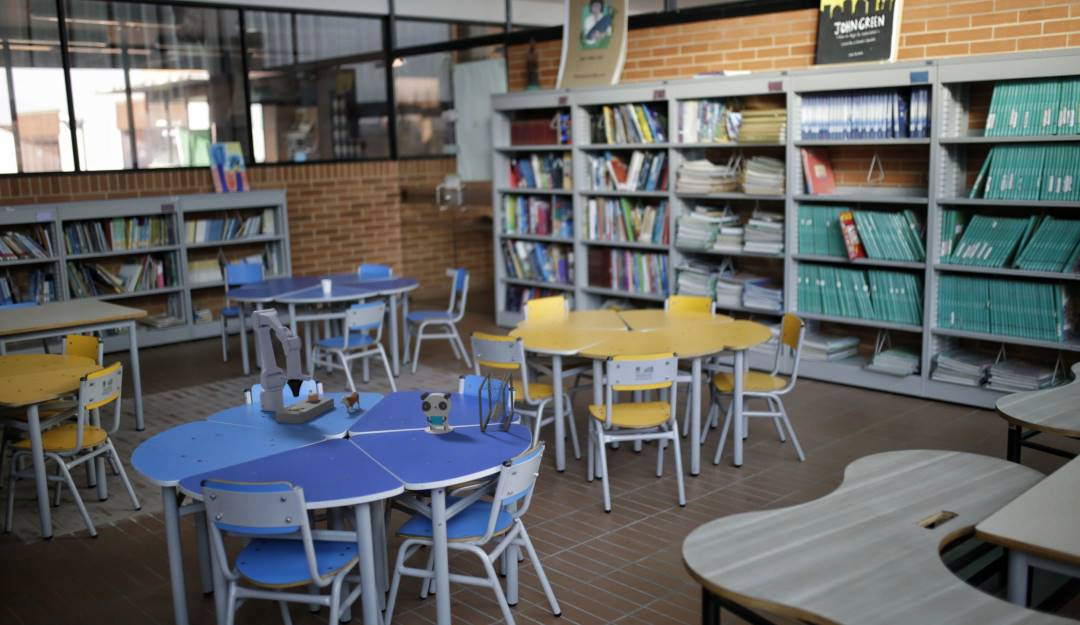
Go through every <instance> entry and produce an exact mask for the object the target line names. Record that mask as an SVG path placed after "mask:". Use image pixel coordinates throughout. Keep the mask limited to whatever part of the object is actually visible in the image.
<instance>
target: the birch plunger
mask: <svg viewBox="0 0 1080 625" xmlns="http://www.w3.org/2000/svg"><path fill="white" fill-rule="evenodd" d="M300 410H302V407H294V408H291V411H300Z"/></svg>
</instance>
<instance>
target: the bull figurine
mask: <svg viewBox="0 0 1080 625" xmlns="http://www.w3.org/2000/svg"><path fill="white" fill-rule="evenodd" d="M339 402H340V404H344V405H345V407H346V409H347V410H346V413H350V414H353V413H354V411H353V409H354V406H355V404H357V409H360V395H359V393H358V392H356V391H354V392H352V393H351V394H349V395H342V397H341V399H340V401H339Z"/></svg>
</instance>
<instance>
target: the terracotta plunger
mask: <svg viewBox="0 0 1080 625" xmlns="http://www.w3.org/2000/svg"><path fill="white" fill-rule="evenodd" d="M319 397H320V396H319V393H315V392H311V393H308V394H307V398H308V403H317V402H319Z"/></svg>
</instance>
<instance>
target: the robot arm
mask: <svg viewBox="0 0 1080 625" xmlns="http://www.w3.org/2000/svg"><path fill="white" fill-rule="evenodd" d="M250 316H251V318H250V319H251V323H252V328H253V330H254V332H256V333H257V338H258V342H259V347H260V351H261V355H262V360H263V364H264V369H263V370H262V371H261V373H260V374H259V377H260V381H259V382H260V386H261V389H262V390H260V394H259V399H260V409H259V410H260V411H261V412H262V411H263V412H264V411H266V412H275V413H276V412H278V411H280V410H282V409H284V408H286V407H289V405H285V404H284V403H285V402H284V389H285V386H286V384H287V385H288V387H289V389H290V391H291V393H292V396H293V397H294V398H297V397H299V396H300V392H301V389H302V388H301V387H302V384H303V382H310V381H312V376H311V375H307V374H302V362H301V351H300V350H301V349H302V347H303V342H302V340H301V337H300V336H299V335H296V334H295V335H294V334H293V332H292V331H291V330H290V329H289V328H288V327H287V326H283V324H282V323H281V322H280V320H279V314H278V311H277V310H276V309H275V308H270V309H268V308H267V309H262V310H255V311H254V310H253V311H252V314H251V315H250ZM271 329H273V331H275V336H276V338H277V339H278V340H279V341H280V342H281V344H282V345H281V346H282V349H283V352H284V355H285V360H286V373H284V370H283V368H280V367H278V366H277V362H276V358H275V356H276V355H275V353H274V349H273V344H272V340H271V339H272V338H271V334H270V330H271Z"/></svg>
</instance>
